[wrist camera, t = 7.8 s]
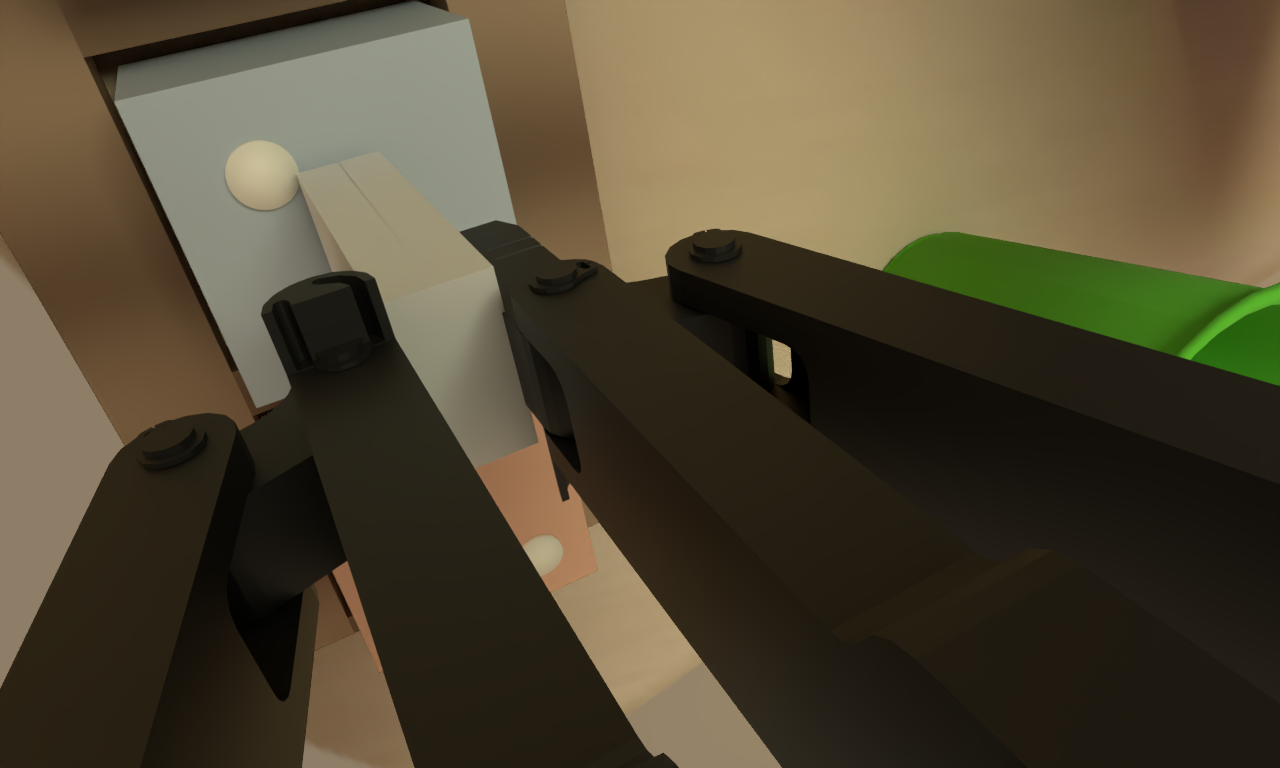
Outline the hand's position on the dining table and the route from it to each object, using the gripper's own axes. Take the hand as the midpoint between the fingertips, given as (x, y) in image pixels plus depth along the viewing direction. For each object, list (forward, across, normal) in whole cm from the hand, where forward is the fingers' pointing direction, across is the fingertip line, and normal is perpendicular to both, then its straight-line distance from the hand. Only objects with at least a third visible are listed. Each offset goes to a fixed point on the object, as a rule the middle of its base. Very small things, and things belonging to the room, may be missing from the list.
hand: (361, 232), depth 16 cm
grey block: (+4, 0, 0) cm, 4 cm away
